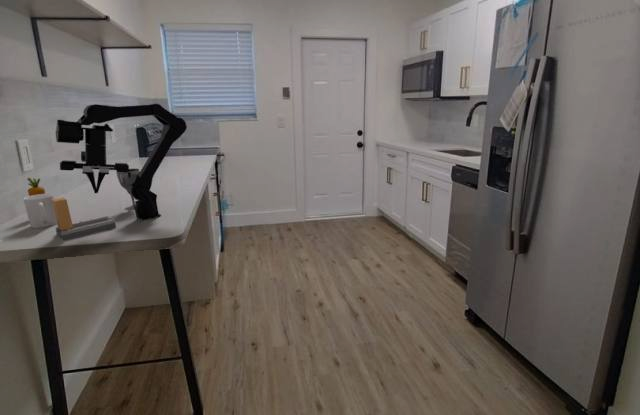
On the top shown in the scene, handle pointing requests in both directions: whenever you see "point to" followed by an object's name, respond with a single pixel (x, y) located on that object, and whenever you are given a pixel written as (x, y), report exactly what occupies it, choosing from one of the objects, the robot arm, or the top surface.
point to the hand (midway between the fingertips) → (96, 193)
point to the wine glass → (122, 179)
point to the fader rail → (87, 227)
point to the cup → (40, 210)
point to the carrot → (35, 187)
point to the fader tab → (62, 214)
